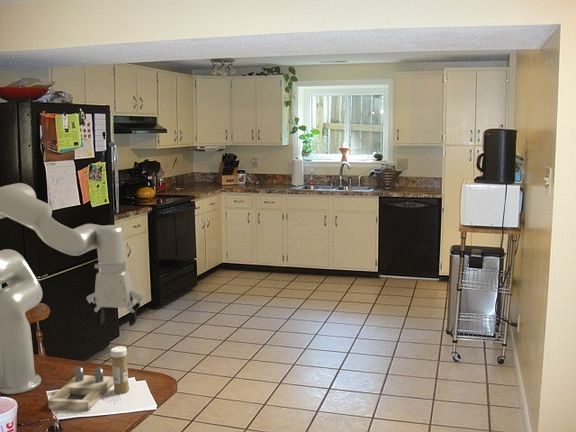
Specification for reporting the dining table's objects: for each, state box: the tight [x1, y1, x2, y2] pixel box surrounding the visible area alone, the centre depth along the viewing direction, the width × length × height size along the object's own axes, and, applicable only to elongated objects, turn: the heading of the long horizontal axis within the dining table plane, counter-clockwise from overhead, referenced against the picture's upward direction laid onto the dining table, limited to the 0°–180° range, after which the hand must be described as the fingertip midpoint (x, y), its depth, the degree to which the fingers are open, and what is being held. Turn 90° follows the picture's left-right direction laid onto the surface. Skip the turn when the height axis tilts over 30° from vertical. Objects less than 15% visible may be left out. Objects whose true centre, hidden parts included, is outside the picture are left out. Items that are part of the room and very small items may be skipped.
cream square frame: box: [47, 365, 114, 412], centre depth 183 cm, size 12×17×6 cm
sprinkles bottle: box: [110, 345, 130, 395], centre depth 186 cm, size 5×5×14 cm
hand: (117, 323), depth 183 cm, fingers open, 9 cm apart
